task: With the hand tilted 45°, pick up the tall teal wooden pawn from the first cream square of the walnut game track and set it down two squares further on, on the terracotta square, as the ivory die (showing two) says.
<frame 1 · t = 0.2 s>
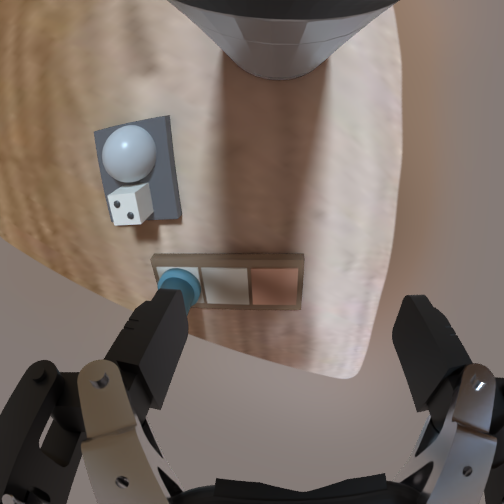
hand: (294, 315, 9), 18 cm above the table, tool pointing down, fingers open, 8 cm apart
die tray: (138, 170, 25), on the table
pawn: (180, 285, 30), point 1 cm above the table, touching track board
track board: (227, 279, 31), on the table
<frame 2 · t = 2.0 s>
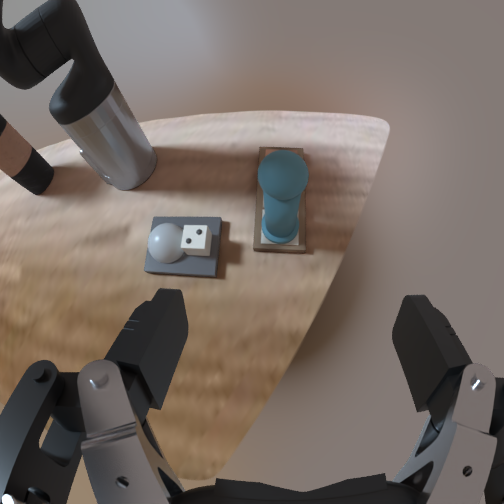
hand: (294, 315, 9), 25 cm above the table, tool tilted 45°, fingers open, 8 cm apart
die tray: (184, 246, 37), on the table
pawn: (280, 226, 36), point 1 cm above the table, touching track board
track board: (280, 196, 39), on the table
travel mug: (43, 181, 45), on the table
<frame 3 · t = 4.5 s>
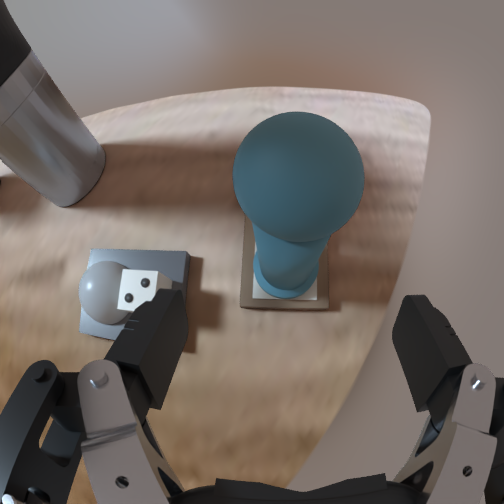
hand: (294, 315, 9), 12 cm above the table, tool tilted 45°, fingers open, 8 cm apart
die tray: (133, 297, 22), on the table
pawn: (285, 267, 21), point 1 cm above the table, touching track board
track board: (285, 214, 24), on the table
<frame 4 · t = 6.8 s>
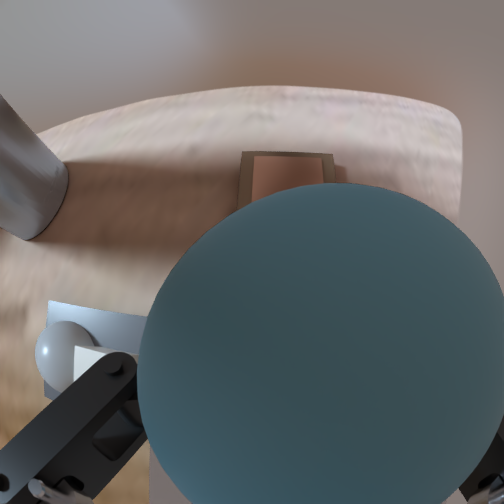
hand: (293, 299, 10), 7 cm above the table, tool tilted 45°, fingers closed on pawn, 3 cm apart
die tray: (98, 364, 16), on the table
pawn: (285, 347, 15), point 1 cm above the table, touching gripper, track board
track board: (287, 265, 18), on the table
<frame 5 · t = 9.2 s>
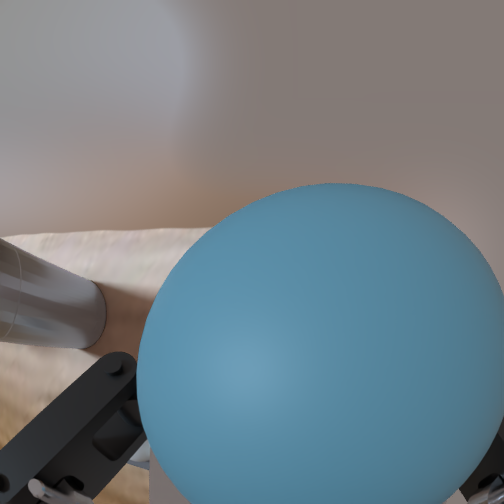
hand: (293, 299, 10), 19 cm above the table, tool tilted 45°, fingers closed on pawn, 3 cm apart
die tray: (156, 441, 24), on the table
pawn: (285, 347, 15), point 13 cm above the table, touching gripper
when the fingers open (8 cm above the table, at t = 11.7 s): pawn drops 1 cm, resting on track board.
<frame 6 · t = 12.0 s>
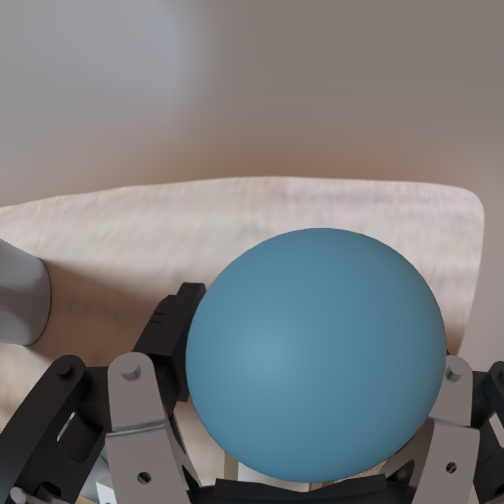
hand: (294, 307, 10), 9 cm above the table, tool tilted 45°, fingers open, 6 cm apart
die tray: (113, 473, 14), on the table
pawn: (284, 348, 16), point 1 cm above the table, touching track board
track board: (278, 419, 16), on the table
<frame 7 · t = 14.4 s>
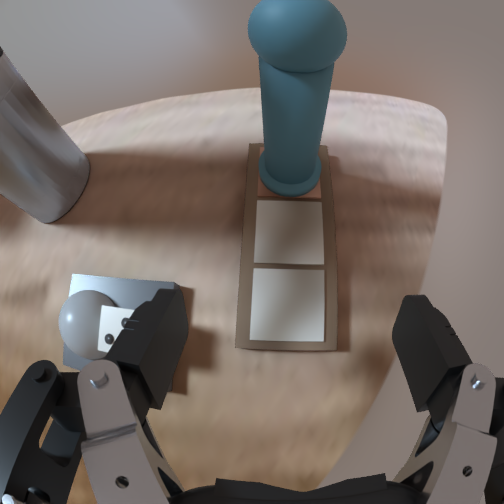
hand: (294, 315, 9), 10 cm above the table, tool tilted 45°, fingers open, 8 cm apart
die tray: (118, 329, 19), on the table
pawn: (289, 171, 21), point 1 cm above the table, touching track board
track board: (288, 237, 21), on the table
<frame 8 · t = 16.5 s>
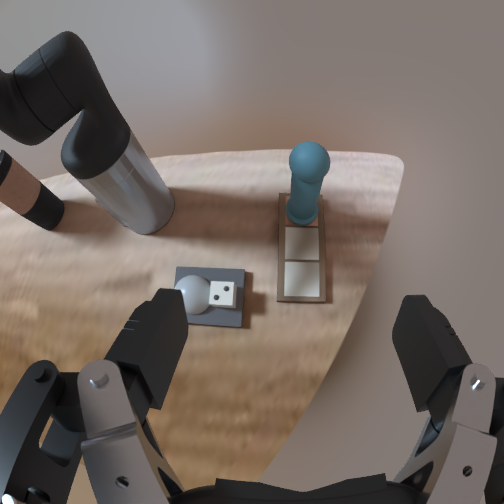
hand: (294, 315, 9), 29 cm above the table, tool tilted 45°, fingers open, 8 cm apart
die tray: (208, 297, 39), on the table
pawn: (301, 210, 40), point 1 cm above the table, touching track board
track board: (301, 246, 40), on the table
travel mug: (53, 215, 46), on the table
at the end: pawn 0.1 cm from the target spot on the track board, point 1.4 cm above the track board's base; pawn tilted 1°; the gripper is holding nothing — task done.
